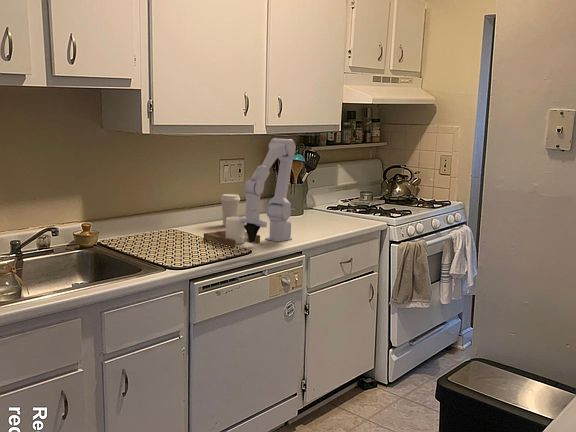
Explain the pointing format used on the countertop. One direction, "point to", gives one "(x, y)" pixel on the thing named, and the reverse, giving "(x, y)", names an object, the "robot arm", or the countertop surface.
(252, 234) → the robot arm
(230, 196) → the coffee cup
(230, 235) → the mug
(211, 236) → the box
